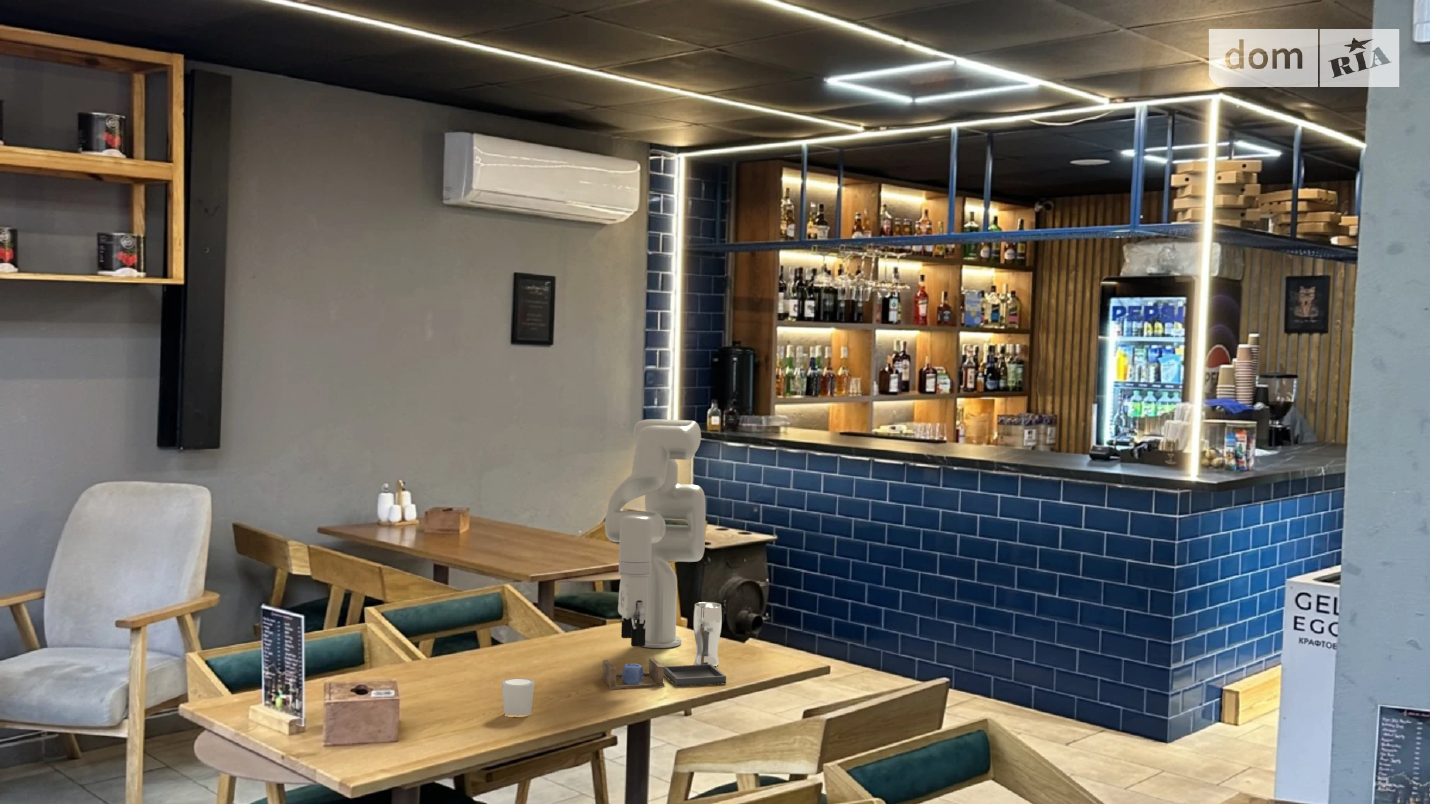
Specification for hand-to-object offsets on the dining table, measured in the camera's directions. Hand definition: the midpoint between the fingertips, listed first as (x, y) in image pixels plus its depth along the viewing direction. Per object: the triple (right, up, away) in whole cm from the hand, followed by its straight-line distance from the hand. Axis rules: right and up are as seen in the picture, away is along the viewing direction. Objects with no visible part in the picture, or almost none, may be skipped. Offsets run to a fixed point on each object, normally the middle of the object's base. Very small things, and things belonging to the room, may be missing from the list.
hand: (633, 641), depth 302 cm
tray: (+14, -10, +5) cm, 18 cm away
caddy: (0, -10, +1) cm, 10 cm away
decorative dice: (0, -10, +1) cm, 10 cm away
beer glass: (+17, -10, +20) cm, 28 cm away
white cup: (-23, -10, -28) cm, 37 cm away
